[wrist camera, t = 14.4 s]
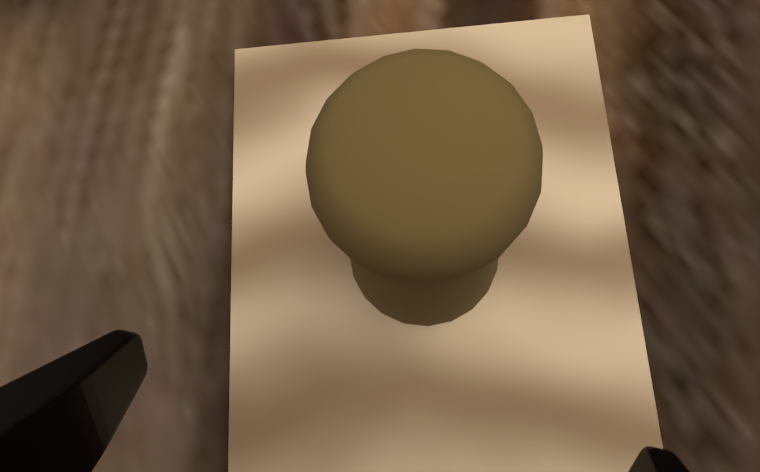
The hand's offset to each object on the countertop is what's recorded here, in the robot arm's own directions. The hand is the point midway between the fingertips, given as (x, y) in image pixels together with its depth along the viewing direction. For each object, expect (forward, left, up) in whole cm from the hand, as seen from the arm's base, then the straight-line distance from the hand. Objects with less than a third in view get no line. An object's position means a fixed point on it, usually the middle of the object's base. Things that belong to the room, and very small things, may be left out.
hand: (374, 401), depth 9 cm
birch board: (+5, -1, -12) cm, 13 cm away
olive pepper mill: (+5, -1, -11) cm, 12 cm away
